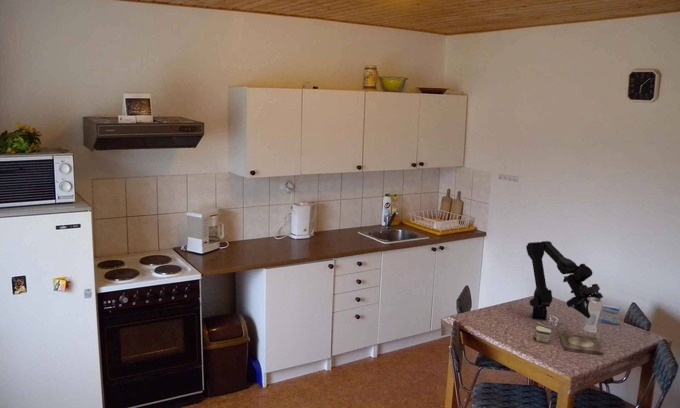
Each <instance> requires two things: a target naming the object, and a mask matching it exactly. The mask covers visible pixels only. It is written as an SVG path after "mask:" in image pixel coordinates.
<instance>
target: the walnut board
mask: <svg viewBox="0 0 680 408" xmlns="http://www.w3.org/2000/svg"><path fill="white" fill-rule="evenodd" d="M559 339H560V341H561V344H562V347H563V350H564V351H565V352H566V351H568V352H575V353H584V354H591V355H596V356H597V355H600V356H604V350H603V348H602V346H601V345H600V343H599V341H598V339H597V338H596V337H592V336H585V335H584V336H582V335H574V334H566V333H559Z"/></svg>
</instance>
